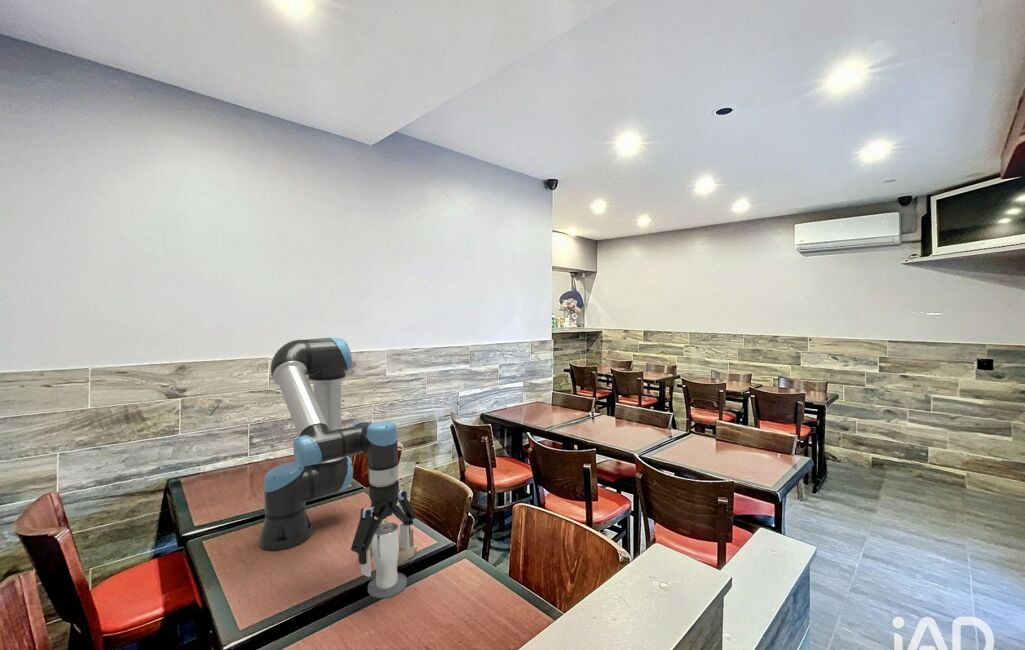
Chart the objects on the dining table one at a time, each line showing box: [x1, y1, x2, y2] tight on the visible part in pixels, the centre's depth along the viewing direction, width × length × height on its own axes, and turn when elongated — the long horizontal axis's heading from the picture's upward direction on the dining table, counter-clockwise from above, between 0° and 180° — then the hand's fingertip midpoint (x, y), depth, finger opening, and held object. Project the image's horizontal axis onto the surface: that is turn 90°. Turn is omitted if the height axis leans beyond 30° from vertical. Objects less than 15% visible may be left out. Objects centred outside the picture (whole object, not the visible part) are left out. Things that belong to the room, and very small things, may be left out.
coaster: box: [367, 571, 408, 599], centre depth 113 cm, size 10×10×1 cm
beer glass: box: [372, 521, 400, 591], centre depth 113 cm, size 7×7×15 cm
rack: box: [357, 519, 418, 568], centre depth 126 cm, size 12×11×8 cm
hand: (386, 560), depth 113 cm, fingers open, 13 cm apart
